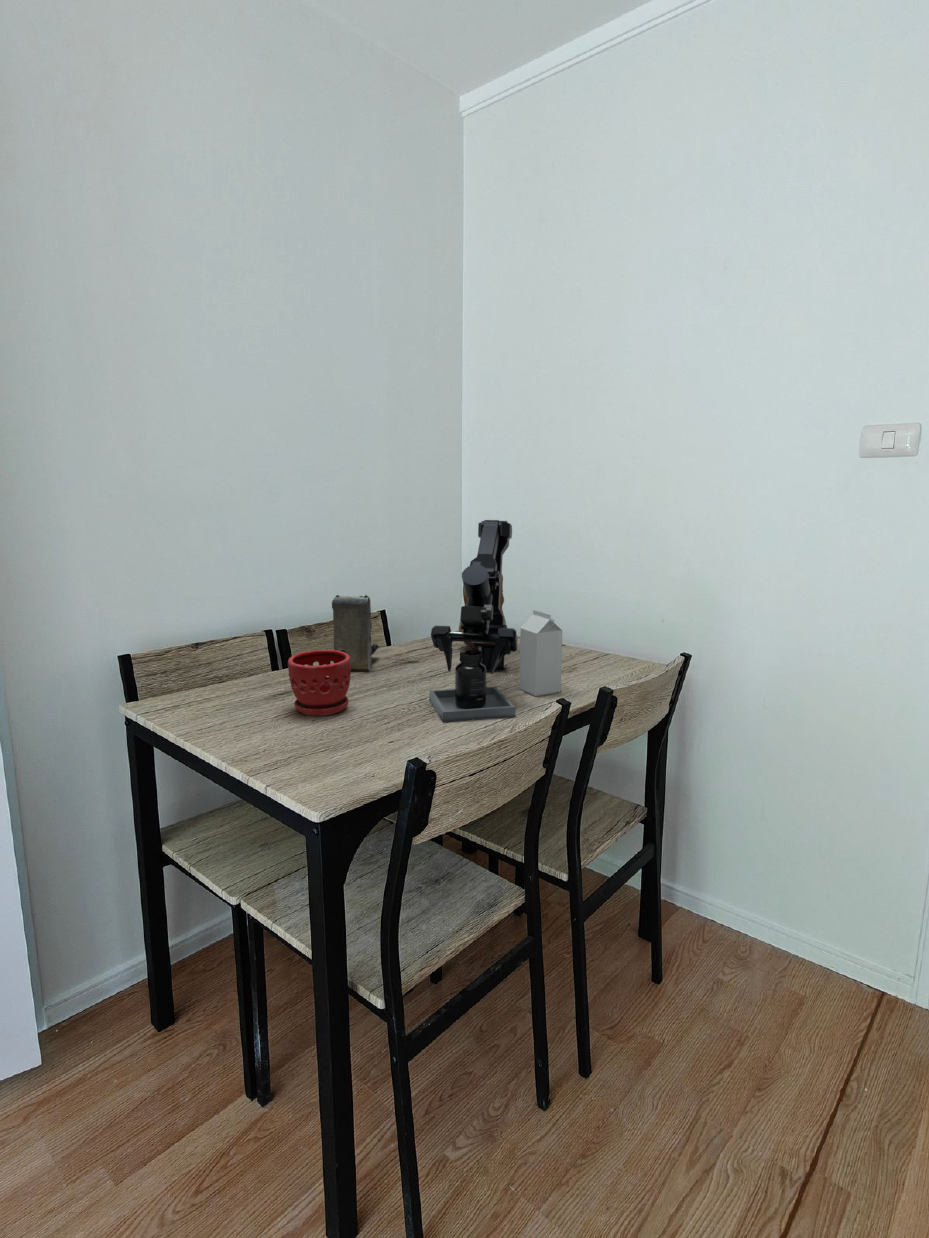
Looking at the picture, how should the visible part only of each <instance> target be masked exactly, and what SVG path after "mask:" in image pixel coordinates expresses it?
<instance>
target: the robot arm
mask: <svg viewBox="0 0 929 1238" xmlns="http://www.w3.org/2000/svg"><path fill="white" fill-rule="evenodd" d="M477 523H478V525H477V526H478V527H477V529H478V530H477V531H478V532H477V538H480V539H479V544H478V549H477V556H476V557H475V558H473V559H472V560H470V561H469V562H470V563H469V566H467V567H465V568H464V569H463V571H462V573H461V579H462V581H461V582H462V585H463V586H464V590H465V594H466V597H467V604H466V606H465V605H463V606H461V607H460V618H459V619H460V620H459V622H460V621H461V629H463V631H462V632H459V631H452V630H451V626H450V625H434V626H433V627H432V628H431V629H430V630H431V631H430V637H431V641H432V644H433V647H434V648H436V649H438V650H439V652H443V653H444V656H445V661H446V666H447V671H448V672H449V673H450V672H451V670H452V664H453V663H452V662H453V648H452V646H453V642H460V643H461V642H462V643H464V642H474V645H475V647H479V650H478V651H481V652H482V661H481V663H482V664H484V665H485V667H486V672H489V673H490V674H492V675H493V673H494V672H497V671H498V672H500V671H503V672H504V671H506V670H507V668H506V667H505V657H506V655H511V652H517V649H518V635H517V630H516V629H515V628H512V627H508V625H507V624H506V625H505V621H506V618H505V619H504V617H505V616H504V617H503V615H502V613H501V611H500V597H501V577H502V575H503V558H504V557H503V555H504V554H505V552H506V551H507V550H508V548H509V546H510V539H512V537H513V524H512V523H511V522H508V521H507V520H499V519H484V520H482V521H481V522H477ZM463 586H462V587H463Z"/></svg>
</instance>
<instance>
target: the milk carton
mask: <svg viewBox="0 0 929 1238" xmlns="http://www.w3.org/2000/svg"><path fill="white" fill-rule="evenodd" d="M519 639H520V640H519V641H520V644H519V645H520V646H519V647H520V648H519V653H520V655H519V689H520V690H521V691H524V692H526V693H528V694H530V695H532V696H534V697H538V696H545V695H552V694H557V692H558V693H561V692H560V691H562V661H563V660H562V659H563V657H562V656H563V629H561V628H560V626H558V625H557V624H556V623H555V619H554V618H553V617H551V614H550V613H546V612H542V611H539V610H536V609H533V610H532V615H531V616H530V617H529V618H528V619H527V620H526V621H525V622H524V623H523V624H522V625H521V627H520V638H519Z"/></svg>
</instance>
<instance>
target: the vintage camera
mask: <svg viewBox="0 0 929 1238" xmlns="http://www.w3.org/2000/svg"><path fill="white" fill-rule="evenodd" d="M371 607H372V606H371V598H370V596H368V595H367V594H365V595H364V596H363V595H359V596H350V595H349V596H348V595H339V594H337V595H336V596H334V597H333V599H332V602H331V609H332V618H333V619H332V624H333V650H337V651H342V652H344V653H347V654H348V655H349V656H350V664H351V672H352V671H353V672H356V671H359V672H361V671H363V672H368V671H371V670H372V656H373V654H375V653H376V651H377V650H378V649H379V648H380V645H378V643H375V642H374V643H373V644H372V635H371V634H372V621H371V620H372V611H371V610H372V609H371Z"/></svg>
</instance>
